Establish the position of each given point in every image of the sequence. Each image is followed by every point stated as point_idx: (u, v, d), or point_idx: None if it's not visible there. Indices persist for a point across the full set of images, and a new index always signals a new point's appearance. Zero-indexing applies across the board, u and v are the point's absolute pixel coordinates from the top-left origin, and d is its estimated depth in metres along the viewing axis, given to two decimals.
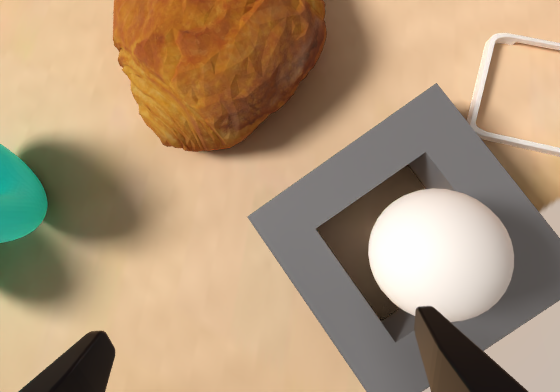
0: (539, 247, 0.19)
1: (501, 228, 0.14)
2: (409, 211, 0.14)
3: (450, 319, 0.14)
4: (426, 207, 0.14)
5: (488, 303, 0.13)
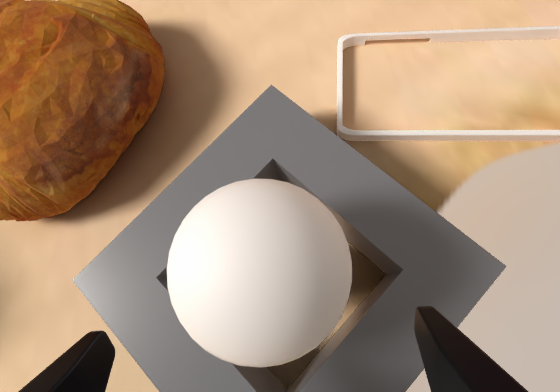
0: (430, 240, 0.15)
1: (306, 206, 0.10)
2: (191, 212, 0.11)
3: (267, 357, 0.09)
4: (206, 201, 0.10)
5: (305, 317, 0.09)
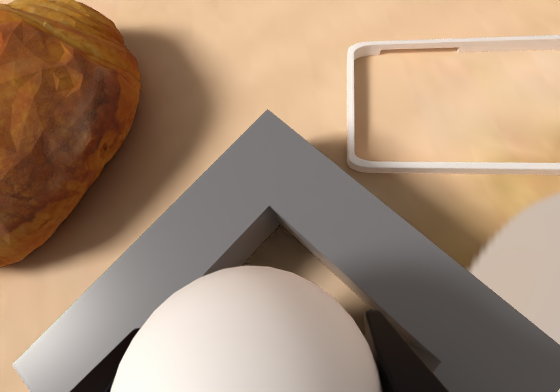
0: (475, 322, 0.11)
1: (319, 336, 0.06)
2: (142, 333, 0.07)
3: None
4: (164, 320, 0.07)
5: None
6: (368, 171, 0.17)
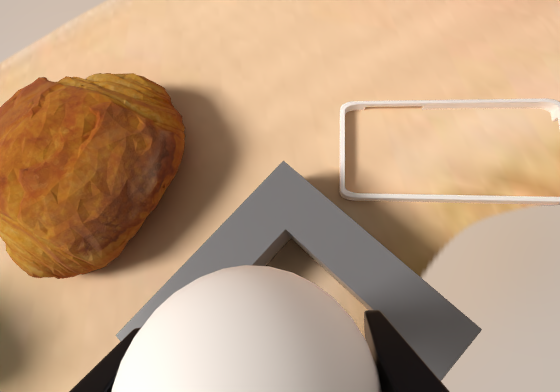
0: (419, 306, 0.18)
1: (316, 336, 0.06)
2: (142, 332, 0.07)
3: None
4: (164, 320, 0.07)
5: None
6: (355, 199, 0.23)
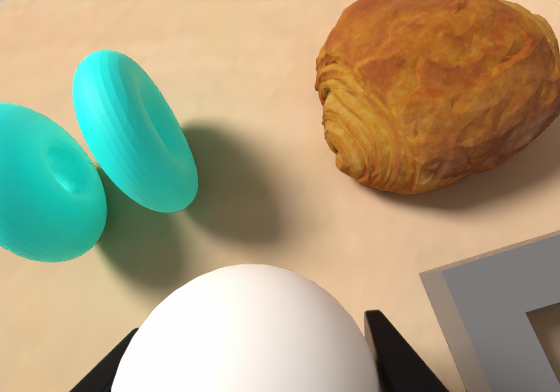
0: None
1: (316, 335, 0.06)
2: (142, 331, 0.07)
3: None
4: (164, 318, 0.07)
5: None
6: None
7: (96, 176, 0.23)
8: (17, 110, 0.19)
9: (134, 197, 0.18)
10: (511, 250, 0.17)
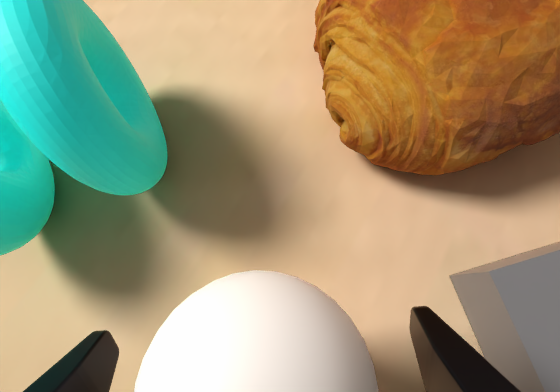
0: None
1: (321, 333, 0.07)
2: (165, 330, 0.08)
3: None
4: (185, 318, 0.08)
5: None
6: None
7: (39, 153, 0.18)
8: None
9: (67, 170, 0.13)
10: None
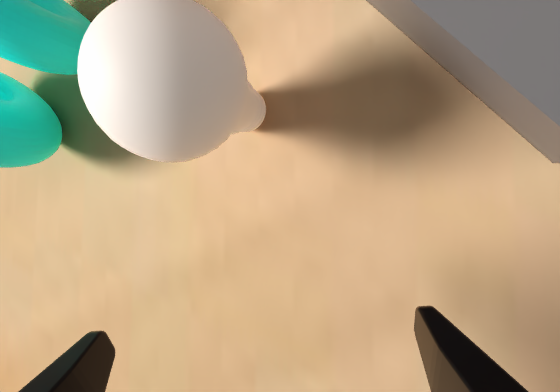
0: None
1: None
2: None
3: (182, 129, 0.11)
4: None
5: (181, 79, 0.10)
6: None
7: (24, 87, 0.23)
8: None
9: (19, 56, 0.17)
10: None
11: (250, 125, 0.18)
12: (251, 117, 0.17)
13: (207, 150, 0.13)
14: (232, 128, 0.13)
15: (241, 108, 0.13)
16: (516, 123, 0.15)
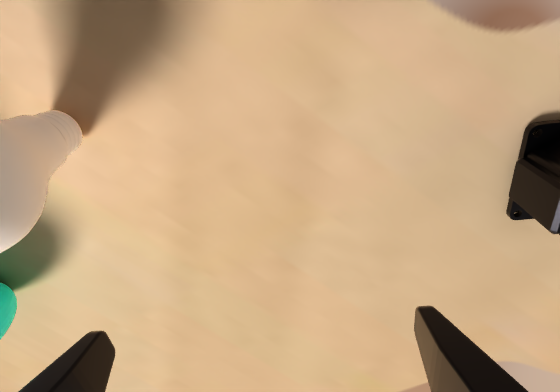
0: None
1: None
2: None
3: None
4: None
5: None
6: None
7: None
8: None
9: None
10: None
11: (70, 138, 0.19)
12: (56, 134, 0.17)
13: (33, 196, 0.14)
14: (26, 164, 0.14)
15: (11, 146, 0.13)
16: None
